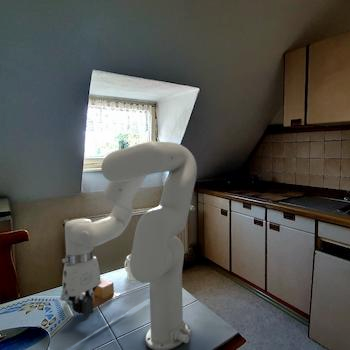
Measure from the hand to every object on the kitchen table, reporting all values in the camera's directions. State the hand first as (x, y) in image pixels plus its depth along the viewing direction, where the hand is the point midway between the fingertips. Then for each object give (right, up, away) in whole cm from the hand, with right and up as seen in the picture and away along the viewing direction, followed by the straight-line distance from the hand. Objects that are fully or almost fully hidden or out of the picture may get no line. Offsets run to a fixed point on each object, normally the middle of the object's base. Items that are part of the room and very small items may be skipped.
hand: (82, 309), depth 87 cm
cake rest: (-4, -2, +17) cm, 17 cm away
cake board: (-4, -3, +14) cm, 15 cm away
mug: (+4, -2, +31) cm, 31 cm away
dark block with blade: (-4, 0, +2) cm, 4 cm away
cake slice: (-7, -3, +10) cm, 13 cm away
